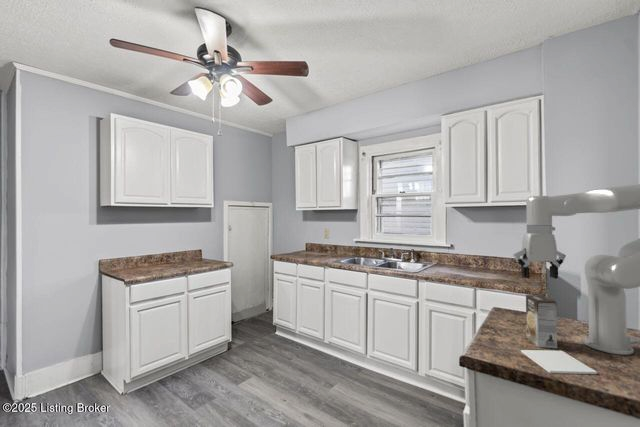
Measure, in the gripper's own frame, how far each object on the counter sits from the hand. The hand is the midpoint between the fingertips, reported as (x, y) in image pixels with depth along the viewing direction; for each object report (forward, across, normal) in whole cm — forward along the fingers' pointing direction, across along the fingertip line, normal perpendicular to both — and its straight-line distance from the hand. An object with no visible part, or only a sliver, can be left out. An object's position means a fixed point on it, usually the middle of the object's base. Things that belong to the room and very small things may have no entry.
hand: (539, 277), depth 110 cm
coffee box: (+24, 0, 0) cm, 24 cm away
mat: (+23, +5, +15) cm, 28 cm away
